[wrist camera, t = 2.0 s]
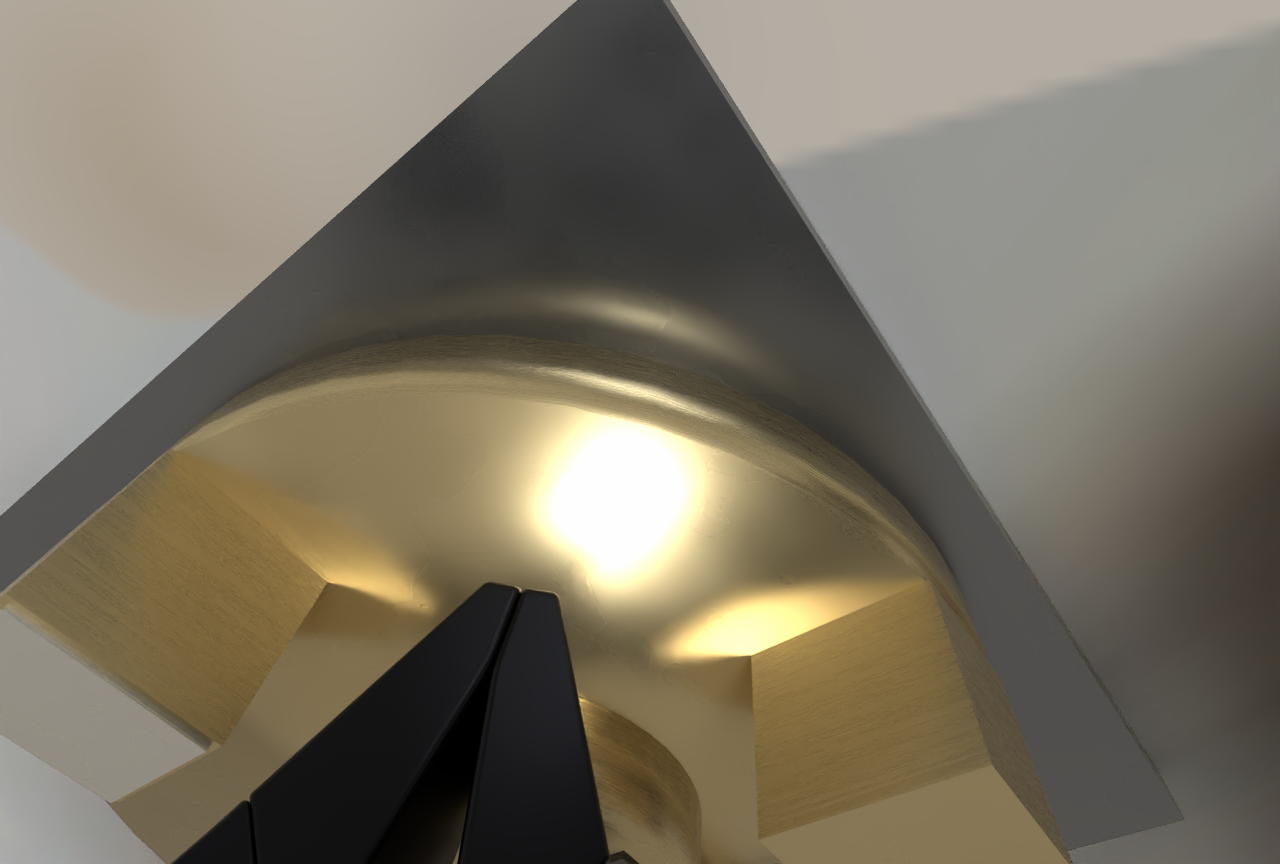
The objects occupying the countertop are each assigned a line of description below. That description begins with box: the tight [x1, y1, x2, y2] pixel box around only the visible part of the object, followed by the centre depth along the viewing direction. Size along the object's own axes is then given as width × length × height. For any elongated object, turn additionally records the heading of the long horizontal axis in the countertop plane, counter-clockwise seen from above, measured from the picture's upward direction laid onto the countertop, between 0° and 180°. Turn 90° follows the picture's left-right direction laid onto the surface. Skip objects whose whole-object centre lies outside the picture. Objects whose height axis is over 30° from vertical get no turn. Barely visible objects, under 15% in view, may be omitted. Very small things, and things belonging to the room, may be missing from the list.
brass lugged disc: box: [0, 335, 1073, 864], centre depth 14 cm, size 18×18×5 cm
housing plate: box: [0, 0, 1184, 850], centre depth 17 cm, size 20×20×1 cm
